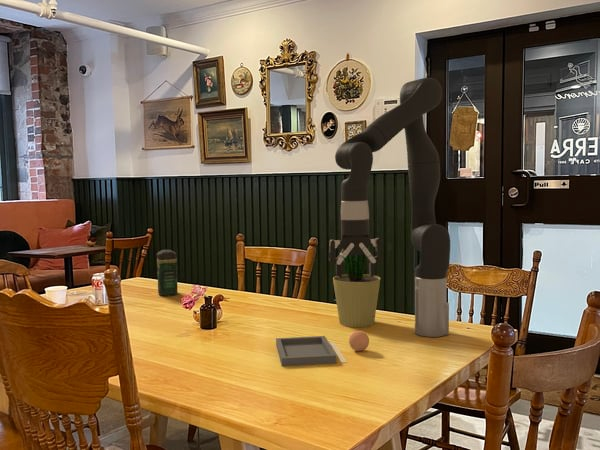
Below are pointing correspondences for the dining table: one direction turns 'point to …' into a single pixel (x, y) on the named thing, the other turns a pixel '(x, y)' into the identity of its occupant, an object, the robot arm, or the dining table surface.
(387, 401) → the dining table surface
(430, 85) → the robot arm
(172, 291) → the coffee jar
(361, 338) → the ball
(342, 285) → the potted cactus
